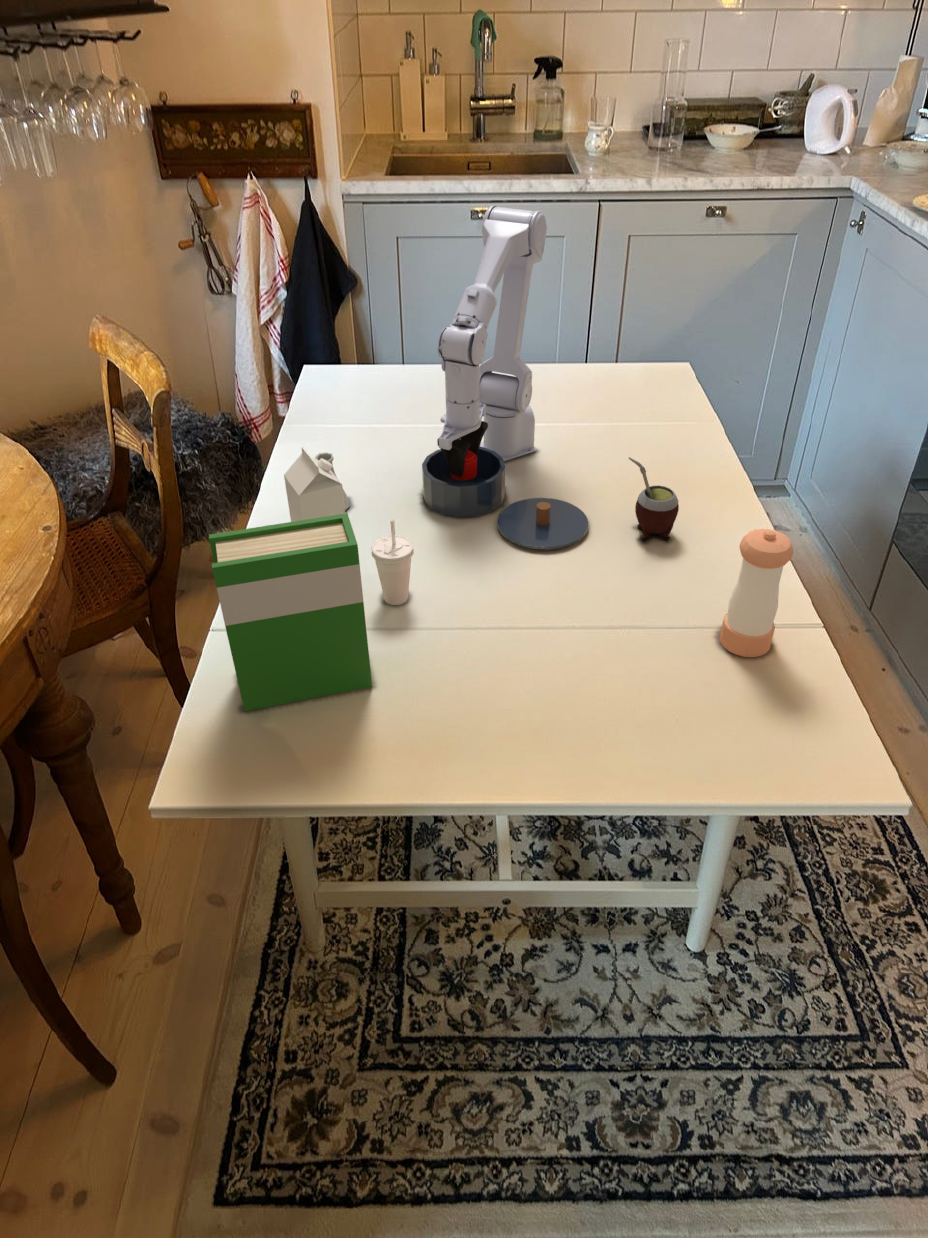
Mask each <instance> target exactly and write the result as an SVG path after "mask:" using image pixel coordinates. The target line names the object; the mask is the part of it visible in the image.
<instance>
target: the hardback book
mask: <svg viewBox="0 0 928 1238" xmlns="http://www.w3.org/2000/svg"><path fill="white" fill-rule="evenodd" d="M208 539H209V545H210V550H211V554H212V558H213V562H212V563H211V569H212V573H213V578H214V582H215V586H216V587H215V588H216V591H217V596H218V600H219V604H220V608H221V614H222V618H223V622H224V626H225V631H226V635H227V640H228V644H229V649H230V653H231V657H232V663H233V666H234V672H235V675H236V680H237V684H238V689H239V694H240V698H241V702H242V707H243V711H244V712H248V711H253V710H259V709H264V708H268V707H269V708H270V707H274V706H278V705H283V704H289V703H296V702H299V701H300V702H301V701H305V700H311V699H315V698H320V697H326V696H331V695H336V694H341V693H348V692H352V691H357V690H358V691H359V690H362V689H368V688H372V687H373V681H372V671H371V661H370V653H369V652H370V651H369V642H368V632H367V625H366V624H367V623H366V612H365V603H364V594H363V593H364V592H363V584H362V583H363V582H362V573H361V564H360V563H361V562H360V554H359V545H358V540H357V539H356V536H355V533H354V529H353V526H352V522H351V520H350V517H349V514H348V513H347V512H345V514H339V515H333V516H326V517H320V518H314V519H307V520H301V521H294V522H291V521H289V522H288V521H287V522H282V523H276V524H268V525H262V526H256V527H248V528H243V529H236V530H229V531H223V532H218V533H217V532H216V533H210V534H208Z"/></svg>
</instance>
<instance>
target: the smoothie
mask: <svg viewBox="0 0 928 1238" xmlns="http://www.w3.org/2000/svg"><path fill="white" fill-rule="evenodd" d="M395 526H396V525H395V519H393V518H392V519H390V532H391V534H390V535H385V536H383V537H380V538H378V539H376V540H375V541H374V542H373V543H372V544H371V553H370V554H371V557H372V558H373V559H374V561H375V566H376V569H377V574H378V578H379V582H380V587H381V591H382V595H383V599H384V601H385V603H387V604H389V605H391V606H392V605H393V606H401V605H403V604H404V603H407V601H408V599H409V591H410V590H409V589H410V579H411V567H412V566H411V565H412V557H413V555H414V552H415V549H414V543H413V542H412V540H411V539H410V538H408V537H405V536H402V535H397V534H396V527H395Z"/></svg>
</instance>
